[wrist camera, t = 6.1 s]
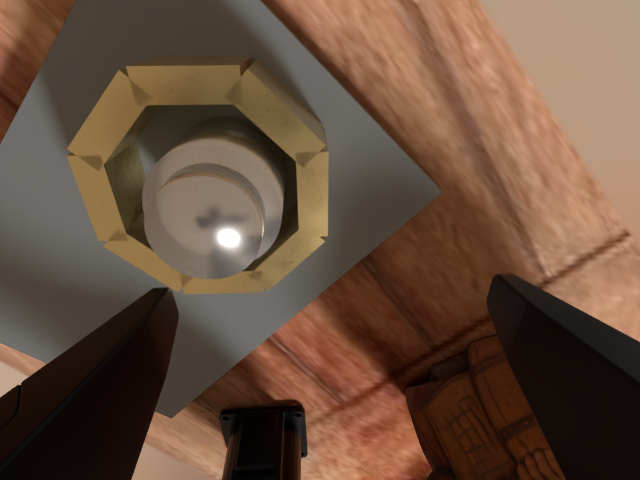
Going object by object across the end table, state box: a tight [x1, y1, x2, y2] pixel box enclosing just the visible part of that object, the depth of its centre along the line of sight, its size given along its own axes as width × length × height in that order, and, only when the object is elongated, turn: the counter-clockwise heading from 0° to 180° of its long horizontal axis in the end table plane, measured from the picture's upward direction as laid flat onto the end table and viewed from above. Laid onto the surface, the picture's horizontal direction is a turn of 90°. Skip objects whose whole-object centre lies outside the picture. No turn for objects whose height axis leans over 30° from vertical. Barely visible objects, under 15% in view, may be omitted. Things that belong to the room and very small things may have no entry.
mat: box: [0, 0, 442, 418], centre depth 20 cm, size 24×16×2 cm, turn 136°
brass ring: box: [67, 56, 329, 294], centre depth 16 cm, size 9×9×3 cm
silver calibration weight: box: [142, 117, 286, 279], centre depth 15 cm, size 5×5×6 cm
